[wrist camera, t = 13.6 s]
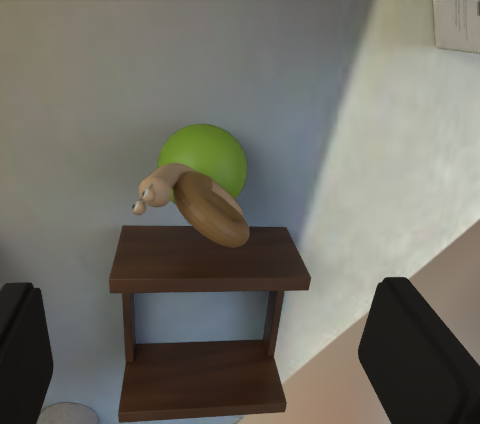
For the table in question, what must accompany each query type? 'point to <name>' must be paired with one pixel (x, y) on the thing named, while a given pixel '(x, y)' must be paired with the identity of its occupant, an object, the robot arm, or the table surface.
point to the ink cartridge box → (457, 25)
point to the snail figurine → (201, 182)
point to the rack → (203, 353)
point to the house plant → (68, 414)
